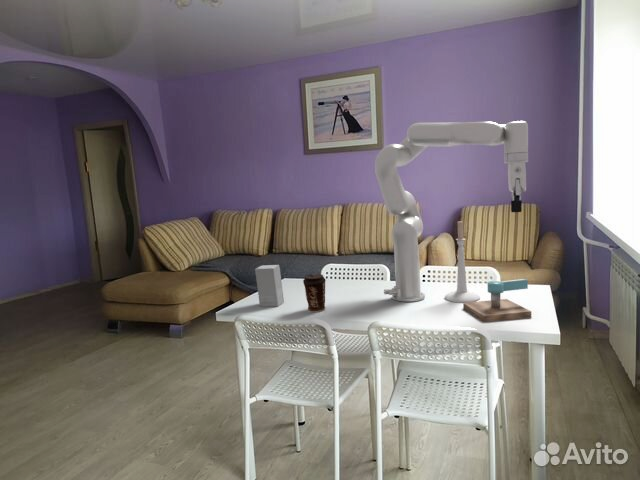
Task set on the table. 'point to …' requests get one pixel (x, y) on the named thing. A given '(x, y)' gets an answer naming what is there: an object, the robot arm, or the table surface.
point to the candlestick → (461, 275)
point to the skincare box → (269, 285)
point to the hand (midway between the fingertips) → (516, 211)
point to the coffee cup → (315, 292)
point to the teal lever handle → (507, 285)
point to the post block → (496, 309)
